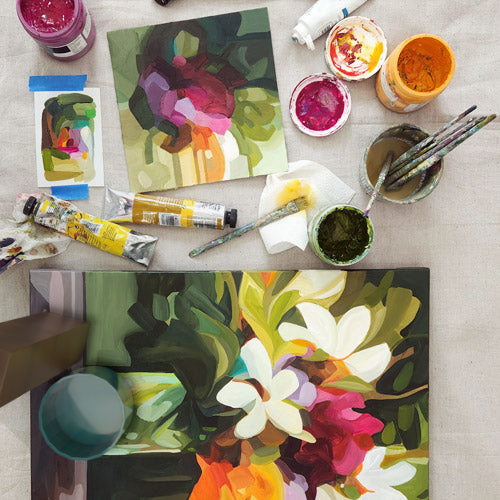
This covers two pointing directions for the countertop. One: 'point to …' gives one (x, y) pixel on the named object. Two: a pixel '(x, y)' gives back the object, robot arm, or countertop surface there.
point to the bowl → (86, 412)
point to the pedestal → (37, 351)
